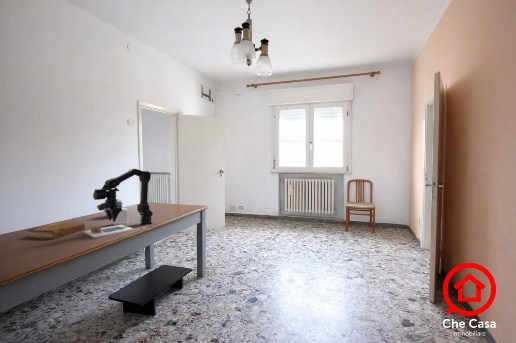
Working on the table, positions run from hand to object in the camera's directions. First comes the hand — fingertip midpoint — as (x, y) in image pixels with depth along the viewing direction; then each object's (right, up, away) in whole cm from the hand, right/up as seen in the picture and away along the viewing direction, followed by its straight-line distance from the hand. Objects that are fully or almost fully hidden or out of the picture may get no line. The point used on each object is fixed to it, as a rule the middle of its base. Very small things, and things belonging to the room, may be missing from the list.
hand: (112, 221), depth 180 cm
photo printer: (-4, -6, +20) cm, 21 cm away
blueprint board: (-1, -7, -1) cm, 7 cm away
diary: (-32, -8, -7) cm, 33 cm away
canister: (-22, -6, +43) cm, 48 cm away
